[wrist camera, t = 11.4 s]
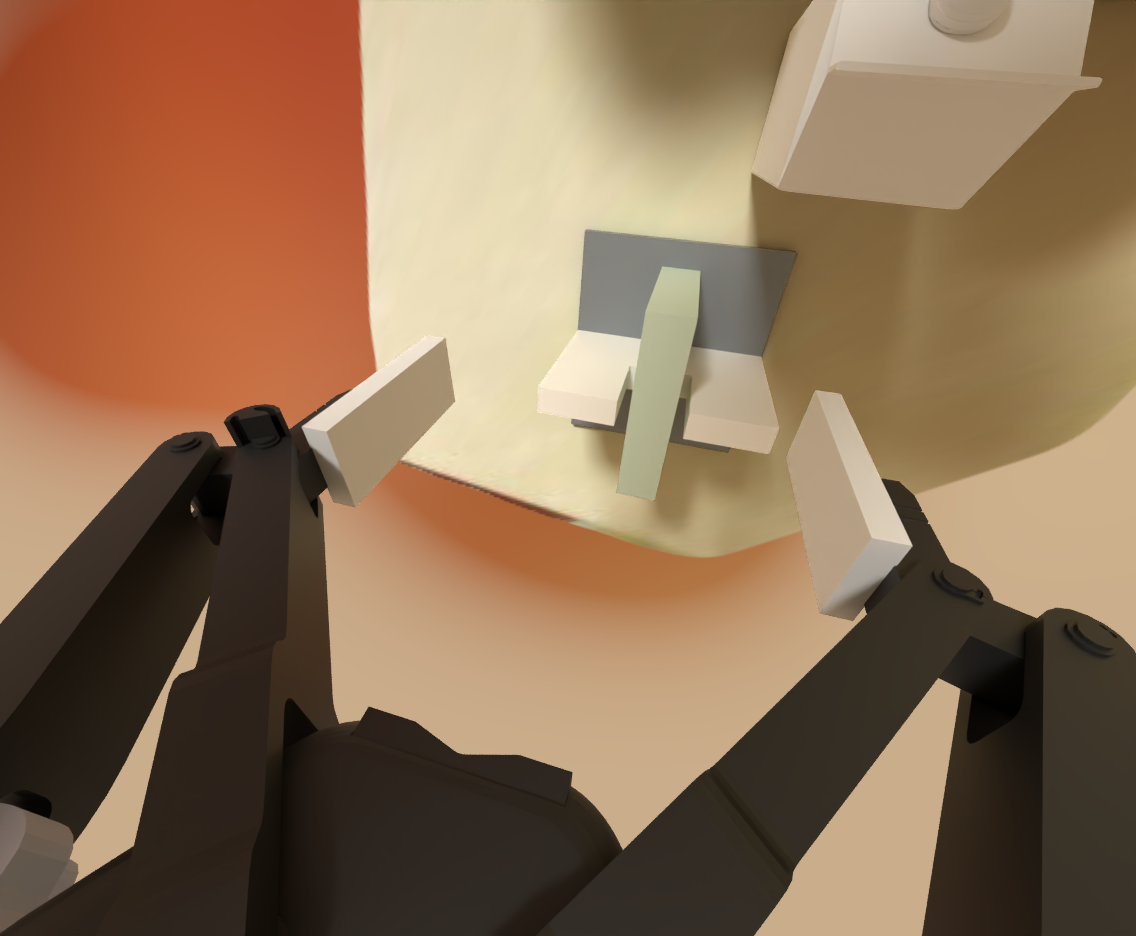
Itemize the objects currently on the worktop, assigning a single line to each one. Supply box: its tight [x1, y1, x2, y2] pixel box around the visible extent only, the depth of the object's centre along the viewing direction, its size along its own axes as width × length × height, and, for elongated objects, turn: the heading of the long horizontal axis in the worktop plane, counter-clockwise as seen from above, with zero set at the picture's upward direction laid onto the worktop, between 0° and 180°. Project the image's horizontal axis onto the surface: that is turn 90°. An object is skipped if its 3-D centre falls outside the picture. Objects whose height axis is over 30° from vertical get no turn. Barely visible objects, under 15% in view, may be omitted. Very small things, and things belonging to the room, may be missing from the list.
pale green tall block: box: [616, 266, 701, 501], centre depth 34 cm, size 14×3×12 cm, turn 176°
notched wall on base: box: [537, 230, 797, 454], centre depth 34 cm, size 16×18×13 cm
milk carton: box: [751, 0, 1102, 209], centre depth 20 cm, size 7×7×19 cm
